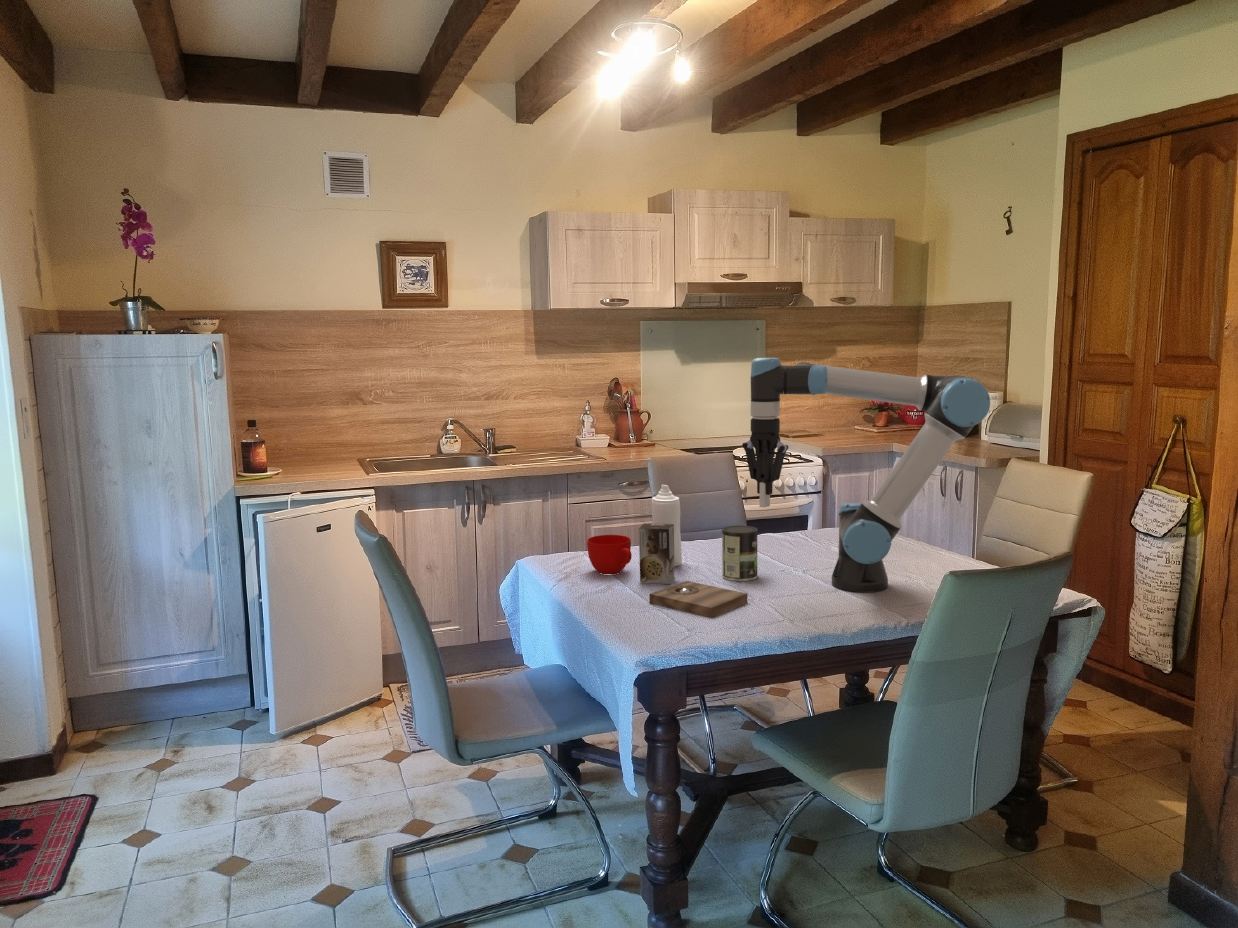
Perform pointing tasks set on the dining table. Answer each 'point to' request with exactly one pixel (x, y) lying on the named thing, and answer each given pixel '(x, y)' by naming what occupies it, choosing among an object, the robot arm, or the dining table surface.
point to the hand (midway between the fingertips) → (764, 506)
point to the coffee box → (656, 553)
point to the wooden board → (698, 598)
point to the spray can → (668, 517)
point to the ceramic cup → (609, 553)
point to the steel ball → (684, 590)
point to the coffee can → (739, 553)
